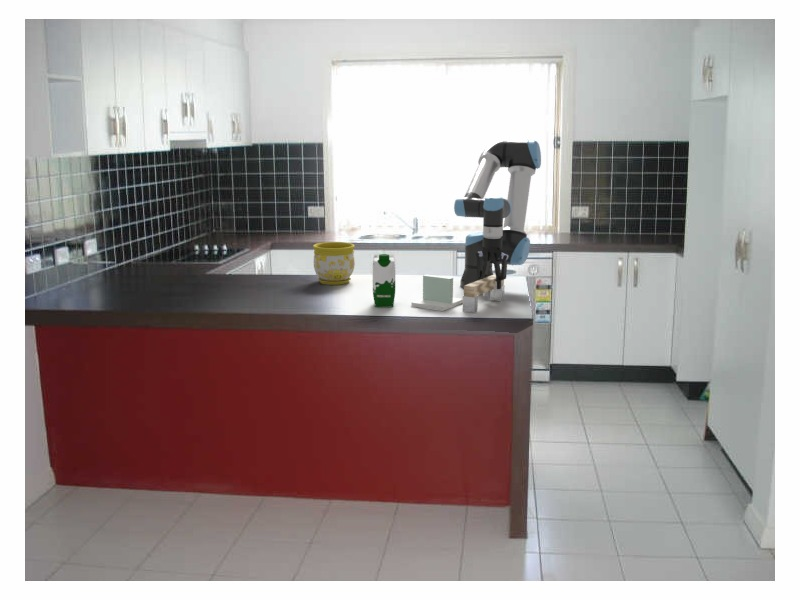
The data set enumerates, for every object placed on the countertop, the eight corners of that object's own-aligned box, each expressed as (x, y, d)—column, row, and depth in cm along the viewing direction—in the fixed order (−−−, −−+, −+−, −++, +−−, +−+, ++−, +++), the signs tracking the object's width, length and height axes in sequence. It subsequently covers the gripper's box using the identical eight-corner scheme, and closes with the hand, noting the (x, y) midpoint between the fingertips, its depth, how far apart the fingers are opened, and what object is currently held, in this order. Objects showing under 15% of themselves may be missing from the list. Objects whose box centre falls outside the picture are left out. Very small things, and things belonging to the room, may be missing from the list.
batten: (494, 284, 330) (494, 274, 329) (503, 285, 327) (504, 275, 327) (463, 296, 308) (463, 285, 307) (473, 297, 306) (473, 286, 305)
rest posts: (492, 298, 331) (493, 284, 330) (504, 300, 328) (504, 285, 327) (462, 311, 310) (462, 295, 309) (474, 313, 307) (474, 297, 306)
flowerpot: (310, 279, 367) (309, 242, 364) (349, 277, 373) (349, 241, 369) (318, 287, 351) (317, 249, 347) (359, 285, 356) (359, 247, 352)
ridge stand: (432, 298, 331) (432, 271, 329) (463, 302, 324) (463, 275, 321) (411, 306, 318) (411, 278, 316) (443, 311, 311) (443, 282, 308)
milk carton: (372, 307, 315) (372, 256, 311) (372, 302, 324) (372, 252, 320) (395, 307, 316) (395, 256, 311) (395, 302, 325) (395, 252, 320)
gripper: (468, 236, 320) (467, 295, 325) (508, 240, 311) (506, 300, 316) (477, 234, 326) (476, 291, 331) (517, 237, 317) (515, 297, 322)
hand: (491, 296), depth 323 cm, fingers closed on batten, 4 cm apart
